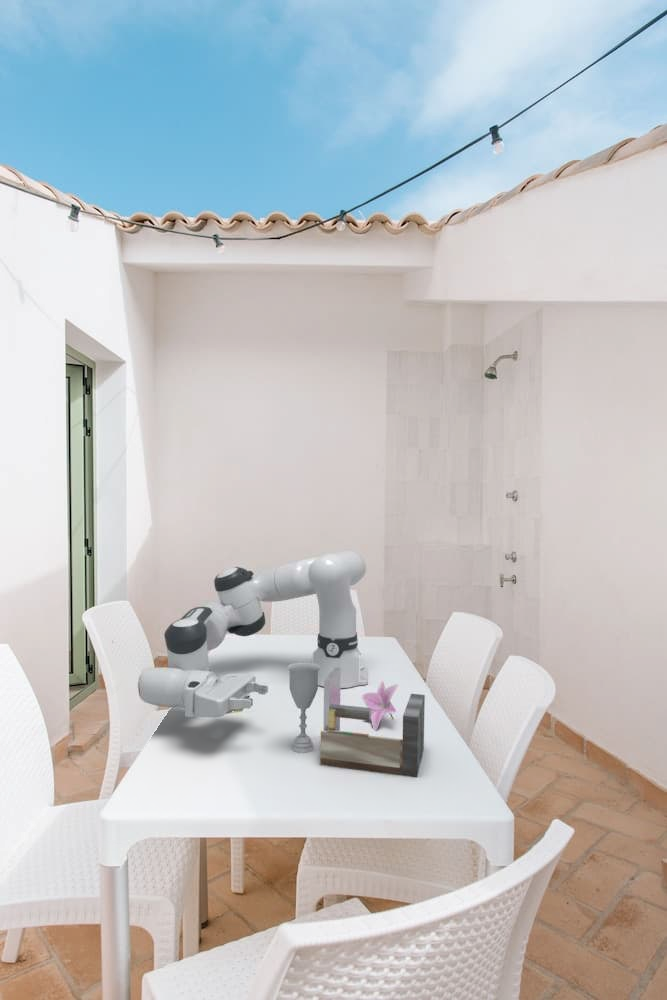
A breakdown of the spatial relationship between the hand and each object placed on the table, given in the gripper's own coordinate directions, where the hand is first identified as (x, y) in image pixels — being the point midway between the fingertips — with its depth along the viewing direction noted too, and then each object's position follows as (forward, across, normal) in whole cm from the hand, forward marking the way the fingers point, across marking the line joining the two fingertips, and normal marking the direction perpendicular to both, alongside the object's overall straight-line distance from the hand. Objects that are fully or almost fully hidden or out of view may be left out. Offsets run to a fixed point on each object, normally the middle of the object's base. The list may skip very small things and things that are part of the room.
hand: (259, 696), depth 135 cm
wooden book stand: (+26, 0, -10) cm, 28 cm away
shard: (-16, -20, -11) cm, 28 cm away
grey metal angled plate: (+21, 0, -8) cm, 22 cm away
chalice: (+10, 0, -11) cm, 15 cm away
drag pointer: (+18, +5, -8) cm, 21 cm away
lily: (+24, -20, -11) cm, 33 cm away
